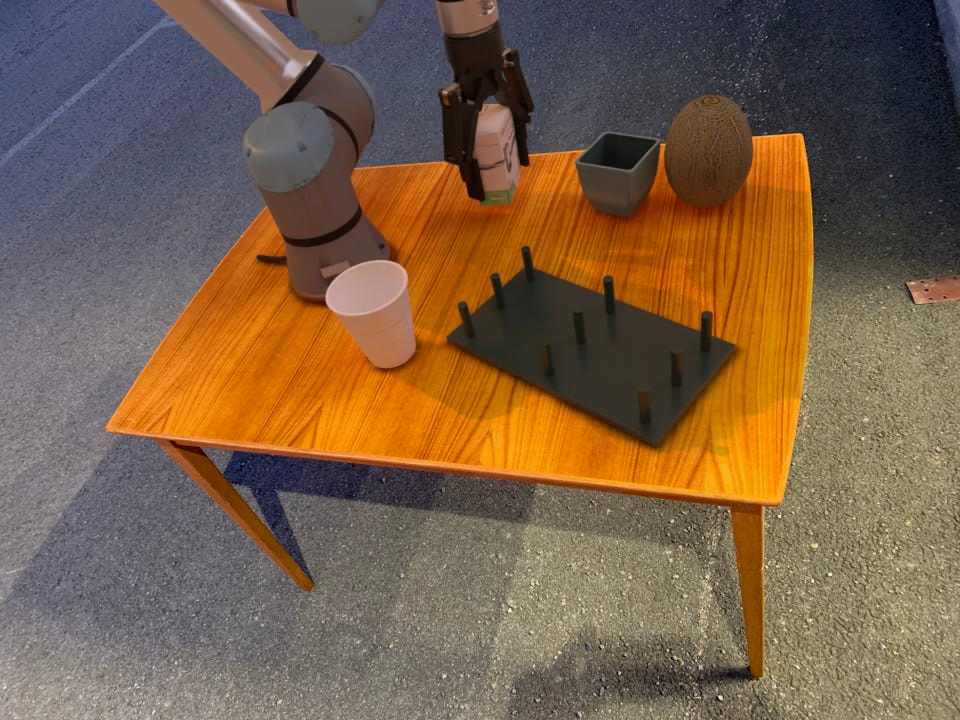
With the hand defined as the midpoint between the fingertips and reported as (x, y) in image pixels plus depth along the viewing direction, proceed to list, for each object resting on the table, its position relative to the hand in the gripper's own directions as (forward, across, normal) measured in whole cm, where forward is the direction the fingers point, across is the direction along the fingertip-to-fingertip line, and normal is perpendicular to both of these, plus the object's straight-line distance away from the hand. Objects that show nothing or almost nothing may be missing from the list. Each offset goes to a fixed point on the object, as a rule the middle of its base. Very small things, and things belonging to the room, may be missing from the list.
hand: (499, 180), depth 103 cm
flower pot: (+4, +7, -16) cm, 18 cm away
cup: (+5, -32, -8) cm, 33 cm away
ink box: (+2, 0, 0) cm, 2 cm away
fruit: (+4, +13, -26) cm, 30 cm away
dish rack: (+4, -19, -28) cm, 34 cm away
